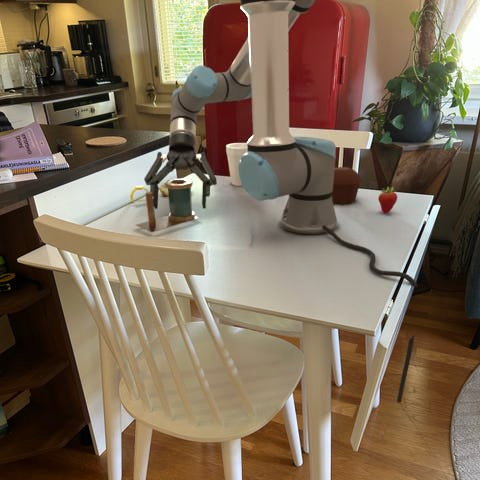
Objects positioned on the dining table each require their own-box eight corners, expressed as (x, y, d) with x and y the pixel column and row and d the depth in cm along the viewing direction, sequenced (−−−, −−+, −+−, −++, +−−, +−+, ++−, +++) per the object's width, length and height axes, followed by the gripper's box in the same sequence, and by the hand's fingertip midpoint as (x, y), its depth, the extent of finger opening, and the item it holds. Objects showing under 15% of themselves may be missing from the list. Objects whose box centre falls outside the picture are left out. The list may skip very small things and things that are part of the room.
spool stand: (181, 216, 142) (179, 180, 136) (199, 222, 137) (196, 186, 131) (135, 230, 132) (130, 192, 127) (152, 237, 127) (147, 198, 122)
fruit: (384, 209, 145) (388, 182, 140) (398, 213, 141) (403, 186, 137) (373, 212, 142) (376, 185, 138) (386, 217, 138) (390, 189, 134)
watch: (133, 207, 150) (131, 188, 146) (130, 205, 152) (128, 186, 149) (151, 204, 152) (149, 186, 149) (148, 202, 154) (146, 184, 151)
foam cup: (255, 180, 175) (255, 143, 169) (250, 187, 168) (250, 148, 161) (230, 179, 177) (229, 142, 171) (224, 186, 170) (223, 147, 163)
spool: (195, 212, 140) (193, 178, 134) (192, 221, 133) (190, 185, 128) (171, 213, 140) (167, 178, 135) (167, 221, 134) (163, 185, 129)
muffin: (365, 199, 153) (369, 167, 148) (348, 208, 146) (351, 174, 141) (334, 193, 160) (336, 162, 155) (315, 200, 153) (317, 169, 148)
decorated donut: (167, 201, 155) (166, 189, 153) (155, 193, 163) (154, 182, 161) (196, 195, 160) (195, 184, 158) (183, 188, 168) (182, 177, 166)
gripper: (226, 146, 141) (225, 212, 136) (142, 147, 142) (138, 212, 137) (224, 130, 134) (223, 199, 129) (136, 131, 135) (131, 200, 130)
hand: (179, 206), depth 133 cm, fingers open, 13 cm apart
